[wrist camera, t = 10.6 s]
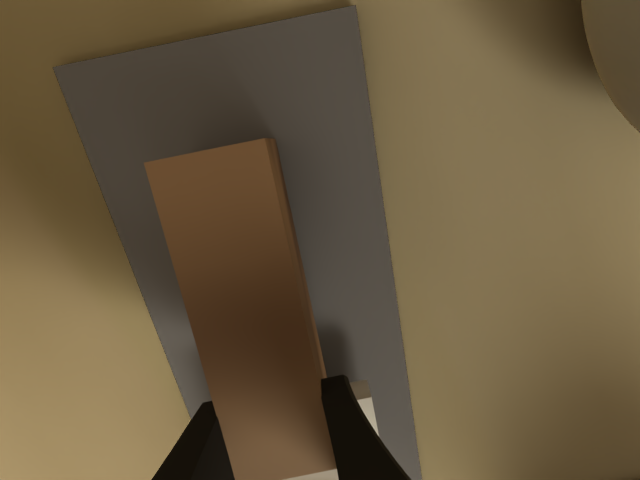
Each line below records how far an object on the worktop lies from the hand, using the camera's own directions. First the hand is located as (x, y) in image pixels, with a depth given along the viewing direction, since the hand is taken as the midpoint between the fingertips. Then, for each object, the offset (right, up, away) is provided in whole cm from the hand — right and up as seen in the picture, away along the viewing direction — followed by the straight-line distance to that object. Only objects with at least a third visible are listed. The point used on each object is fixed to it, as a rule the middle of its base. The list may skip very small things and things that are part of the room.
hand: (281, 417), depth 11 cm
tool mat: (0, +1, +4) cm, 4 cm away
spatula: (0, +1, +2) cm, 3 cm away
